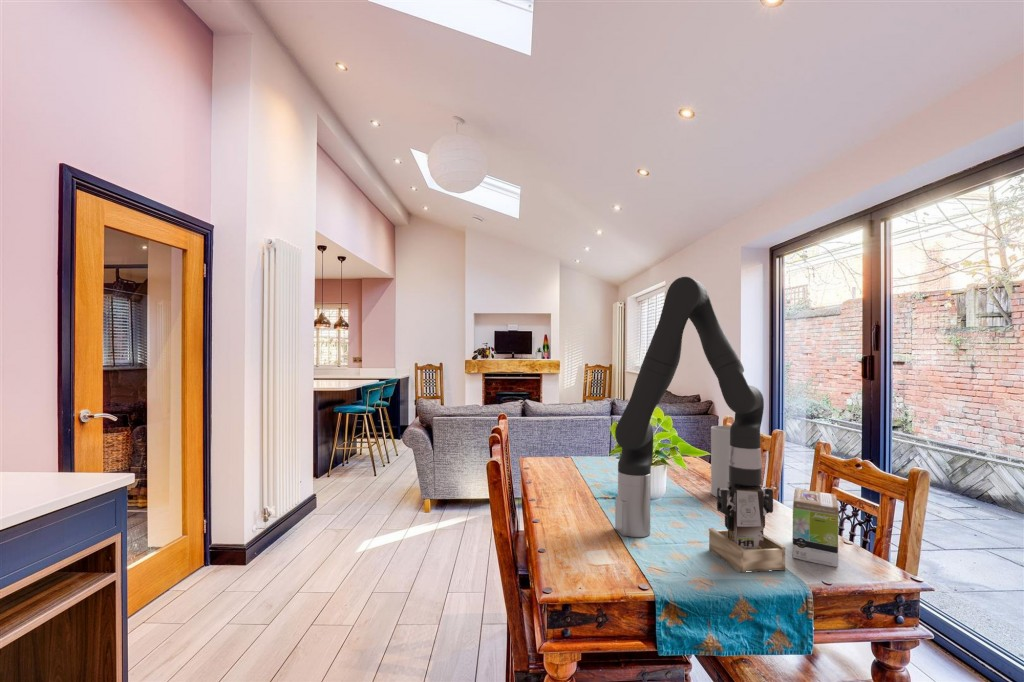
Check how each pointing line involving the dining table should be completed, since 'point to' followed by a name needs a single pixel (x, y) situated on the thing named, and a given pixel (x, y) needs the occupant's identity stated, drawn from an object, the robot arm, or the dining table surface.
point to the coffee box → (747, 517)
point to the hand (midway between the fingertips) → (745, 529)
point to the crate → (747, 553)
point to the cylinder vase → (719, 457)
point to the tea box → (815, 527)
